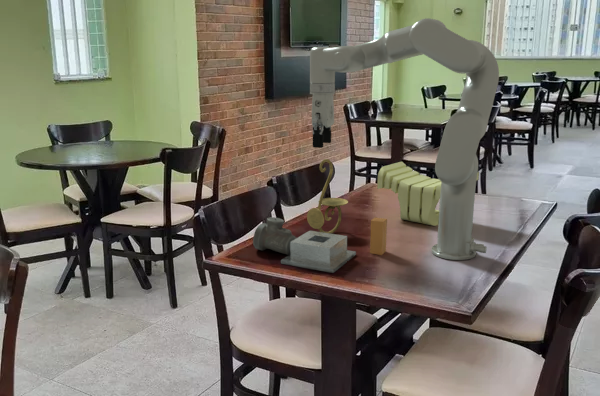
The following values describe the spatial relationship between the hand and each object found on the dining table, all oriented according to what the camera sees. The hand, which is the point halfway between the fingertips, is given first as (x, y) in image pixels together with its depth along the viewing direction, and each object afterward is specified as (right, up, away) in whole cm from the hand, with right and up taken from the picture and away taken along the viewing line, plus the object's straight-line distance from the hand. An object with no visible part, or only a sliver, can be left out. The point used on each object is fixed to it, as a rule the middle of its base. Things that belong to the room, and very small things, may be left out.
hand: (322, 145), depth 180 cm
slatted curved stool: (+37, -24, +24) cm, 50 cm away
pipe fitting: (-14, -33, -9) cm, 37 cm away
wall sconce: (+2, -28, +7) cm, 29 cm away
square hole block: (-1, -34, -15) cm, 37 cm away
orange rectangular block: (+16, -32, -9) cm, 37 cm away
